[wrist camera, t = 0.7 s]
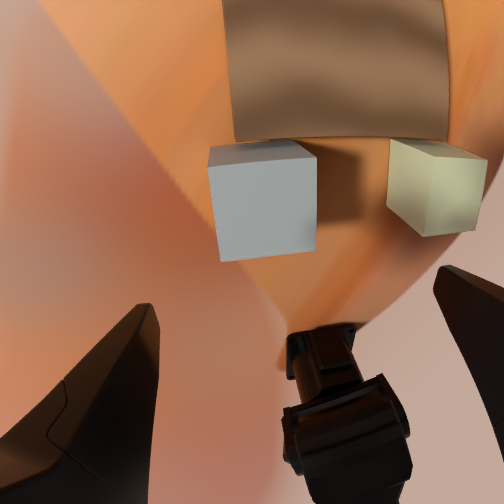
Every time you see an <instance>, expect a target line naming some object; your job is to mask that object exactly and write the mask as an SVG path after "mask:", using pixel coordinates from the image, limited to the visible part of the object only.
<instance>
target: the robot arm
mask: <svg viewBox="0 0 504 504" xmlns="http://www.w3.org/2000/svg"><path fill="white" fill-rule="evenodd" d="M433 292H434V295H435V297H436V300H437V302H438V304H439V306H440V309H441V311H442V313H443V316H444V318H445V320H446V323H447V325H448V327H449V330H450V332H451V334H452V336H453V337H454V340H455V342H456V343H457V345H458V347H459V349H460V352H461V354H462V356H463V357H464V360H465V362H466V364H467V366H468V368H469V370H470V373H471V375H472V377H473V379H474V382H475V383H476V386H477V389H478V391H479V393H480V396H481V398H482V401H483V403H484V405H485V408H486V411H487V413H488V416H489V418H490V421H491V424H492V426H493V430H494V433H495V436H496V438H497V442H498V445H499V448H500V451H501V454H502V458H503V461H504V288H503V287H501V286H498V285H496V284H494V283H492V282H490V281H487V280H485V279H483V278H480V277H478V276H476V275H473V274H471V273H469V272H466V271H464V270H462V269H459V268H457V267H454V266H452V265H445V266H441V267H440V268H439V269H438V272H437V276H436V279H435V282H434V286H433ZM350 329H351V330H350ZM355 333H356V327H355V325H354V324H349V325H343V326H338V327H333V328H327V329H322V330H316V331H310V332H304V333H298V334H292V335H289V336H288V337H287V338H286V376H287V379H288V380H295V379H296V383H297V387H298V391H299V395H300V399H301V403H302V404H300V405H297V406H293V407H286V408H283V412H284V416H283V418H282V419H281V421H282V427H283V432H284V445H283V459H284V461H285V462H287V463H289V464H291V466H292V468H293V469H294V471H295V473H296V474H297V475H298V476H302V475H304V477H305V480H306V484H307V487H308V490H309V493H310V496H311V497H312V500H313V502H314V503H316V504H399V497H400V494H401V492H402V489H403V486H404V483H405V481H407V480H409V479H410V477H411V472H412V468H413V464H412V461H411V457H410V453H409V449H408V446H407V443H406V438H408V437H409V436H410V428H409V423H408V419H407V416H406V413H405V411H404V408H403V406H402V404H401V403H400V401H399V399H398V397H397V396H396V394H395V393H394V391H393V389H392V388H391V386H390V385H389V383H388V381H387V380H386V378H385V377H384V375H383V374H382V373H381V374H379V375H376V377H374V378H372V379H369V380H367V381H364V380H363V377H362V375H361V373H360V370H359V368H358V366H357V363H356V361H355V359H354V356H353V354H352V352H351V351H352V347H353V342H354V338H355ZM293 339H294V340H293ZM159 349H160V326H159V323H158V320H157V317H156V314H155V311H154V308H153V306H152V304H151V303H143V304H142V303H141V304H137V305H136V306H135V307H134V308H133V309H132V310H131V311H130V312H129V313H128V314H126V316H124V317H123V318H122V319H121V320H120V321H119V322H118V323H117V324H116V325H115V326H114V327H113V328H112V329H111V330H110V331H109V332H108V333H107V334H106V335H105V336H104V337H103V338H102V339H101V340H100V341H99V342H98V343H97V344H96V345H95V346H94V347H93V348H92V349H91V350H90V351H89V352H88V353H87V354H86V355H85V356H84V357H83V358H82V359H81V361H79V362H78V364H77V365H76V366H75V367H74V368H73V369H72V370H71V371H70V372H69V373H68V374H67V375H66V376H65V377H64V380H61V381H60V383H58V384H57V385H56V386H55V387H54V389H52V390H51V391H50V393H49V394H48V395H47V396H46V397H45V398H44V399H43V400H42V401H41V402H40V403H38V404H37V405H36V406H35V407H34V408H33V409H32V410H31V411H30V412H29V413H28V414H27V415H25V416H24V417H23V418H22V419H21V420H20V421H19V422H18V423H17V424H16V425H14V426H13V427H12V428H11V429H10V430H9V431H8V432H7V433H6V434H4V435H3V436H2V437H1V438H0V504H148V485H149V484H148V483H149V469H150V456H151V444H152V433H153V424H154V414H155V406H156V397H157V389H158V380H159Z"/></svg>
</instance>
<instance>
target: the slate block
mask: <svg viewBox="0 0 504 504" xmlns="http://www.w3.org/2000/svg"><path fill="white" fill-rule="evenodd" d="M208 175H209V183H210V190H211V198H212V205H213V212H214V219H215V226H216V233H217V240H218V246H219V253H220V259H221V262H225V261H234V260H243V259H251V258H259V257H268V256H276V255H284V254H293V253H301V252H309V251H316V217H317V157H315V156H314V155H313V154H311V153H310V152H309V151H307V150H306V149H304V148H303V147H302V146H300V145H299V144H297V143H296V142H295V141H293V140H282V141H268V142H256V143H245V144H235V145H226V146H218V147H210V154H209V160H208Z"/></svg>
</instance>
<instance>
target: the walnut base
mask: <svg viewBox="0 0 504 504" xmlns="http://www.w3.org/2000/svg"><path fill="white" fill-rule="evenodd" d="M222 4H223V16H224V27H225V38H226V49H227V60H228V71H229V82H230V93H231V104H232V115H233V125H234V136H235V139H236V142H242V141H253V140H265V139H279V138H296V137H321V136H383V137H407V138H423V139H436V140H447V133H448V110H449V76H448V54H447V41H446V31H445V22H444V15H443V8H442V1H441V0H222Z"/></svg>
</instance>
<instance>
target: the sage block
mask: <svg viewBox="0 0 504 504" xmlns="http://www.w3.org/2000/svg"><path fill="white" fill-rule="evenodd" d="M487 163H488V160H486V159H484V158H482V157H479V156H477V155H475V154H472V153H470V152H468V151H465V150H463V149H460V148H458V147H455V146H453V145H450V144H447V143H445V142H439V141H425V140H409V139H391V142H390V162H389V177H388V189H387V200H386V206H387V207H388V208H389V209H391V210H392V211H393V212H394V213H395V214H397V215H398V216H399V217H400V218H401V219H403V220H404V221H405V222H406V223H407V224H408V225H410V226H411V227H412V228H413V229H414V230H415V231H416V232H418V233H419V234H420V235H421V236H422V237H427V236H435V235H442V234H450V233H458V232H465V231H473V230H475V228H476V224H477V219H478V215H479V210H480V205H481V200H482V195H483V189H484V184H485V177H486V171H487Z"/></svg>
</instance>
